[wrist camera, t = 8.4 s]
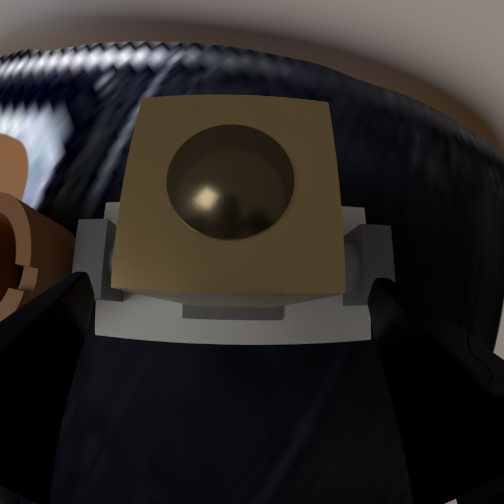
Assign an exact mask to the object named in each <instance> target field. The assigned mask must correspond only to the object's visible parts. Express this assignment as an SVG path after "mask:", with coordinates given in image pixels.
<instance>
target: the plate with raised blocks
mask: <svg viewBox="0 0 504 504" xmlns="http://www.w3.org/2000/svg"><path fill="white" fill-rule="evenodd" d="M119 205H120V202H109V203H106V206H105V213H104V219H79V221H78V227H77V234H76V242H75V250H74V259H73V269H72V273H74V272H76V271H79V272H86V273H88V275H89V278H90V281H91V284H92V287H93V290H94V295H95V297H94V300H96V312H95V335H102V336H110V337H119V338H129V339H140V340H151V341H165V342H181V343H201V344H238V345H272V344H310V343H330V342H346V341H359V340H371V318H370V313H369V309H368V303H367V301H368V296H369V293H370V290H371V287H372V284H373V282H374V280H375V279H376V278H384V277H386V278H389V279H390V280H392V281H393V282H395V270H394V256H393V244H392V234H391V226H390V225H373V224H366V219H365V209H364V208H360V207H345V206H341V209H342V222H343V237H344V255H345V281H346V293H344V294H340V295H335V296H330V297H325V298H321V299H316V300H311V301H306V302H301V303H296V304H290V305H285V306H280V307H274V308H229V307H197V306H190V305H185V304H180V303H176V302H171V301H166V300H162V299H157V298H153V297H148V296H144V295H140V294H136V293H131V292H127V291H123V290H119V289H115V288H111V276H112V263H113V253H114V243H115V234H116V226H117V219H118V212H119Z"/></svg>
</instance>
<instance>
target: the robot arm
mask: <svg viewBox="0 0 504 504" xmlns="http://www.w3.org/2000/svg"><path fill="white" fill-rule="evenodd" d="M94 297H95V295H94V290H93V287H92V284H91V281H90V278H89V275H88V273H86V272H79V271H76V272H74V273H72V274H71V275H69V276H67V277H66V278H64V279H63V280H61V281H60V282H58V283H56V284H55V285H53V286H52V287H50V288H49V289H47V290H46V291H44V292H43V293H41V294H40V295H38V296H37V297H35V298H34V299H32V300H31V301H29V302H28V303H26V304H25V305H23V306H22V307H20V308H19V309H17V310H16V311H15V312H13V313H12V314H10V315H9V316H7V317H6V318H5V319H3V320H2V321H0V504H19V501H20V496H21V497H23V498H25V499H28V500H30V501H32V502H34V503H36V504H49V500H50V490H51V482H52V474H53V468H54V461H55V455H56V449H57V443H58V438H59V433H60V428H61V423H62V419H63V415H64V410H65V406H66V402H67V398H68V394H69V390H70V387H71V383H72V379H73V376H74V372H75V369H76V366H77V362H78V359H79V356H80V353H81V349H82V346H83V343H84V340H85V336H86V332H87V327H88V323H89V319H90V315H91V311H92V307H93V303H94ZM367 303H368V309H369V313H370V318H371V323H372V328H373V333H374V338H375V342H376V346H377V350H378V353H379V356H380V360H381V363H382V367H383V370H384V373H385V377H386V380H387V384H388V388H389V391H390V395H391V399H392V403H393V406H394V410H395V414H396V418H397V423H398V427H399V431H400V435H401V440H402V444H403V449H404V454H405V458H406V465H407V470H408V475H409V481H410V486H411V492H412V499H413V504H445V503H447V502H449V501H451V500H454V499H456V500H457V504H504V360H503V359H502V358H500V357H499V356H497V355H496V354H494V353H493V352H492V351H490V350H489V349H487V348H486V347H484V346H483V345H482V344H480V343H479V342H477V341H476V340H475V339H473V338H472V337H471V336H469V335H468V334H466V333H465V332H464V331H463V330H461V329H460V328H459V327H457V326H456V325H455V324H453V323H452V322H450V321H449V320H448V319H446V318H445V317H443V316H442V315H441V314H439V313H438V312H437V311H435V310H434V309H432V308H431V307H429V306H428V305H427V304H425V303H424V302H422V301H421V300H419V299H418V298H417V297H415V296H414V295H412V294H411V293H409V292H408V291H406V290H405V289H404V288H402V287H401V286H399V285H398V284H396V283H395V282H393V281H392V280H390V279H389V278H386V277H384V278H376V279H375V280H374V282H373V284H372V287H371V290H370V293H369V296H368V301H367Z"/></svg>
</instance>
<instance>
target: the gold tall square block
mask: <svg viewBox="0 0 504 504" xmlns="http://www.w3.org/2000/svg"><path fill="white" fill-rule="evenodd" d="M111 288H115V289H119V290H123V291H127V292H131V293H136V294H140V295H144V296H148V297H153V298H157V299H162V300H166V301H171V302H176V303H180V304H185V305H190V306H197V307H229V308H274V307H280V306H285V305H290V304H296V303H301V302H306V301H311V300H316V299H321V298H325V297H330V296H335V295H340V294H344V293H346V281H345V255H344V237H343V222H342V209H341V198H340V188H339V178H338V169H337V160H336V152H335V145H334V137H333V130H332V124H331V117H330V111H329V105H328V102H322V101H314V100H305V99H295V98H284V97H270V96H252V95H183V96H165V97H152V98H142V102H141V106H140V109H139V113H138V117H137V121H136V125H135V129H134V133H133V137H132V142H131V146H130V151H129V155H128V160H127V165H126V170H125V175H124V181H123V187H122V192H121V199H120V205H119V212H118V219H117V226H116V234H115V243H114V253H113V263H112V276H111Z"/></svg>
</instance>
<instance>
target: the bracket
mask: <svg viewBox="0 0 504 504" xmlns="http://www.w3.org/2000/svg"><path fill="white" fill-rule="evenodd" d="M75 242H76V238H75V236H74V235H73V234H72V233H71V232H70V231H69V230H67V229H66V228H65V227H63V226H61V225H59V224H58V223H56V222H54V221H53V220H51V219H49V218H48V217H46V216H44V215H43V214H41V213H39V212H38V211H36V210H34V209H33V208H31V207H30V206H28V205H26V204H25V203H23V202H22V201H20V200H18V199H17V198H15V197H14V196H12V195H10V194H7V193H0V321H2V320H3V319H5V318H6V317H7V316H9V315H10V314H12V313H13V312H15V311H16V310H17V309H19V308H20V307H22V306H23V305H25V304H26V303H28V302H29V301H31V300H32V299H34V298H35V297H37V296H38V295H40V294H41V293H43V292H44V291H46V290H47V289H49V288H50V287H52V286H53V285H55V284H56V283H58V282H60V281H61V280H63V279H64V278H66V277H67V276H69V275H71V274H72V269H73V259H74V250H75ZM19 265H21V266H24V269H23V274H22V279H21V282H20V285H19V287H18V269H19Z"/></svg>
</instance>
